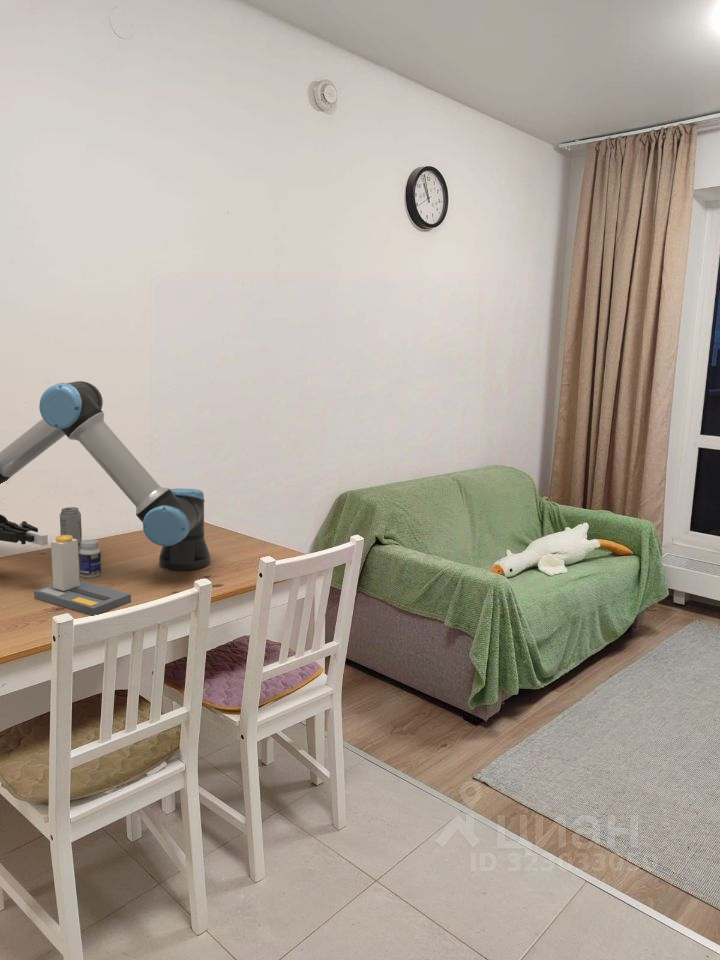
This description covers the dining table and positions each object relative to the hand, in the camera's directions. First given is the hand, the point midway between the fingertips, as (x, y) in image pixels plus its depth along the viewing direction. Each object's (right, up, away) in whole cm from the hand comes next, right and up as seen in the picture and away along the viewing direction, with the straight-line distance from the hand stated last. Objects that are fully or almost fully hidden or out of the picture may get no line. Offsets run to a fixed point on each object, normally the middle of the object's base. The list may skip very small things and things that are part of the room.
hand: (45, 540), depth 191 cm
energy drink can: (-6, -8, +32) cm, 34 cm away
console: (+11, -15, -3) cm, 19 cm away
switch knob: (+6, -12, -1) cm, 14 cm away
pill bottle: (+6, -11, +16) cm, 20 cm away
